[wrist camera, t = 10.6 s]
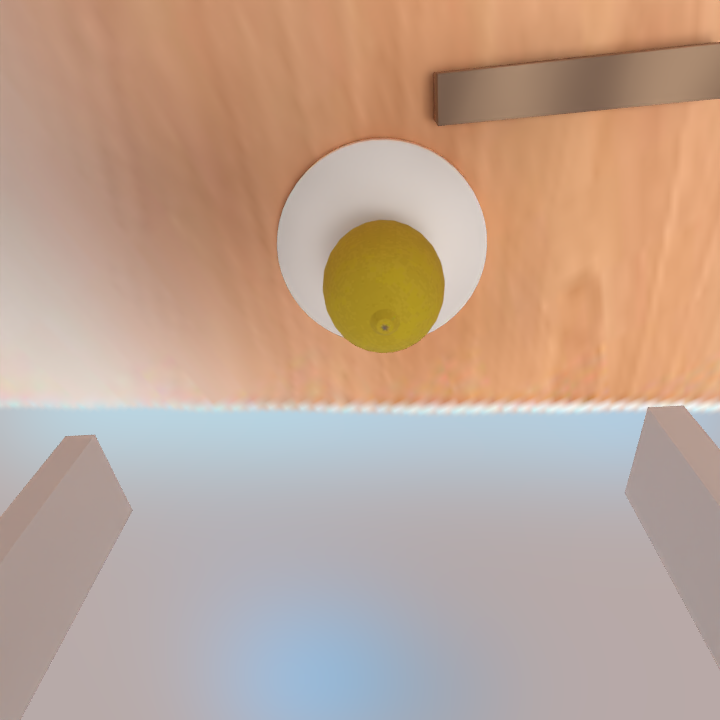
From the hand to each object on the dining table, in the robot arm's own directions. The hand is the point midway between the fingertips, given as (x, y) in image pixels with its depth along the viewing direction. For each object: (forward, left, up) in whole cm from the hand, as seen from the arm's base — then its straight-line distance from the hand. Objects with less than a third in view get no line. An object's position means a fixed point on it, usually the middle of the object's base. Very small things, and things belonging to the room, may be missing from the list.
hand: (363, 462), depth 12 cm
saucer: (0, 0, -17) cm, 17 cm away
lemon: (0, 0, -16) cm, 16 cm away
